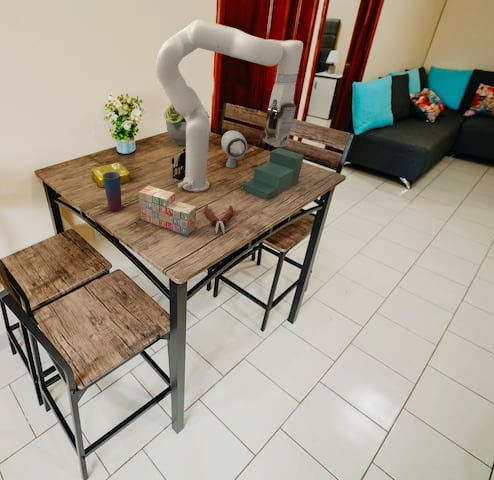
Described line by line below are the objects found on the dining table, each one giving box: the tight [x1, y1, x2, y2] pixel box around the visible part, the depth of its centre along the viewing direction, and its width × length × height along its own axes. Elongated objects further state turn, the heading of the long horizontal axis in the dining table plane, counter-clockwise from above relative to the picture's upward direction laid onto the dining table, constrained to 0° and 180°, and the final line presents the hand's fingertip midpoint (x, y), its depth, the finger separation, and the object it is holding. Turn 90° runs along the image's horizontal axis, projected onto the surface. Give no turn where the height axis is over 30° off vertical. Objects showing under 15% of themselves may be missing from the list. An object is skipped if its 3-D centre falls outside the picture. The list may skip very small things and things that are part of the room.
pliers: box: [203, 204, 234, 236], centre depth 128 cm, size 12×20×3 cm, turn 175°
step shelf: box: [241, 147, 305, 201], centre depth 150 cm, size 25×13×13 cm, turn 132°
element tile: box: [91, 162, 131, 188], centre depth 160 cm, size 15×15×5 cm
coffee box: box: [262, 100, 297, 148], centre depth 135 cm, size 9×6×16 cm
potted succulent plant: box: [163, 102, 211, 146], centre depth 193 cm, size 25×25×24 cm
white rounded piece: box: [220, 130, 249, 169], centre depth 165 cm, size 15×20×18 cm
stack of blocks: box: [138, 185, 197, 236], centre depth 125 cm, size 21×6×12 cm, turn 56°
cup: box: [103, 171, 123, 213], centre depth 134 cm, size 7×7×15 cm
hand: (277, 125), depth 136 cm, fingers closed on coffee box, 7 cm apart
